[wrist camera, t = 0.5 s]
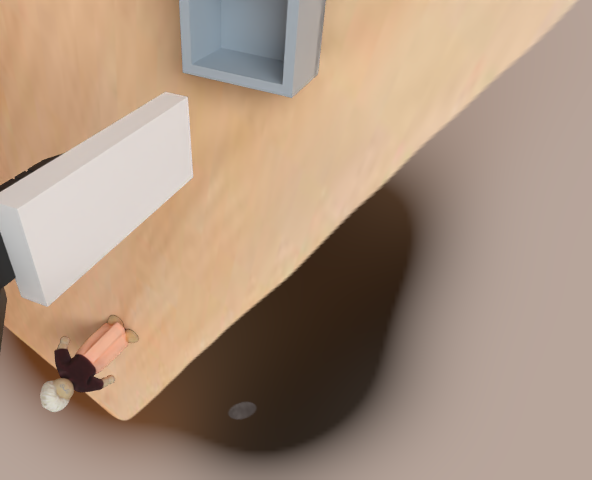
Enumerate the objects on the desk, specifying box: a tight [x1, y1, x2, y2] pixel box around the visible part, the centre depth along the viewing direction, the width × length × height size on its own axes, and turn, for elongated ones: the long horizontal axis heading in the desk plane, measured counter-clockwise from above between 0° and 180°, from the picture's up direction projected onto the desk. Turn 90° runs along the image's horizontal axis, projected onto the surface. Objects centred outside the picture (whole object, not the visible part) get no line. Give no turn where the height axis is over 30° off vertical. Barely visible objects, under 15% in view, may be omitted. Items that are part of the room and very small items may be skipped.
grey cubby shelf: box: [179, 0, 326, 98], centre depth 34 cm, size 8×8×5 cm
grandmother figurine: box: [40, 315, 138, 412], centre depth 60 cm, size 8×4×13 cm, turn 57°
